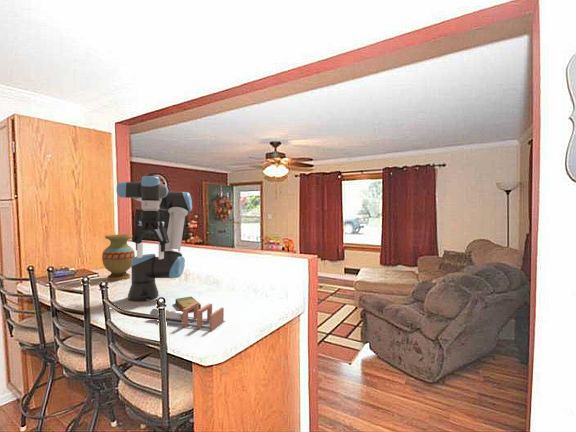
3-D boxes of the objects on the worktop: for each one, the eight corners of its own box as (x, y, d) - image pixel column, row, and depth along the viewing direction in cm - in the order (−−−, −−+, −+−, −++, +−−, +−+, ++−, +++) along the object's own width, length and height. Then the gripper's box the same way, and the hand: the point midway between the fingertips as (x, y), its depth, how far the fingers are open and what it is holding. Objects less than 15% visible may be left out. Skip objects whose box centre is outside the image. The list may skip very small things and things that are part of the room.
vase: (116, 282, 197) (116, 237, 196) (95, 280, 204) (95, 235, 203) (141, 276, 215) (141, 234, 215) (120, 274, 222) (120, 233, 222)
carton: (183, 316, 138) (183, 306, 138) (174, 306, 152) (174, 298, 152) (201, 312, 143) (201, 303, 143) (191, 303, 156) (191, 295, 156)
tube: (149, 319, 129) (149, 310, 129) (156, 316, 133) (156, 307, 133) (182, 323, 125) (182, 314, 125) (188, 320, 129) (188, 311, 129)
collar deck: (154, 327, 124) (154, 307, 124) (172, 317, 136) (172, 299, 136) (211, 334, 118) (211, 313, 117) (225, 323, 129) (225, 304, 129)
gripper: (123, 209, 137) (122, 258, 138) (167, 210, 131) (167, 260, 132) (135, 209, 144) (135, 255, 145) (177, 210, 139) (177, 258, 139)
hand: (150, 258), depth 138 cm, fingers open, 11 cm apart
